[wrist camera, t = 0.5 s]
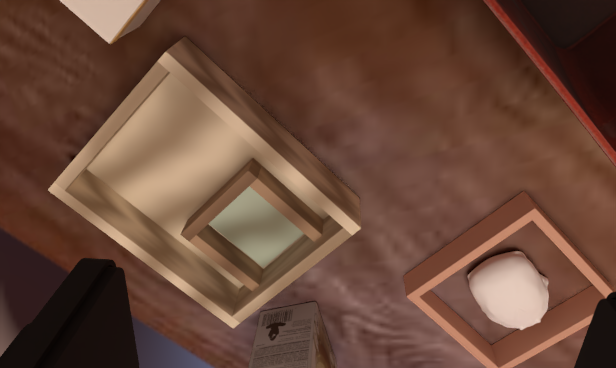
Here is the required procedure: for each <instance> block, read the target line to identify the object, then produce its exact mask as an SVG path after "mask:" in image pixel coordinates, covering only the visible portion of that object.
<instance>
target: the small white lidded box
mask: <svg viewBox="0 0 616 368" xmlns="http://www.w3.org/2000/svg"><path fill="white" fill-rule="evenodd" d="M60 1H61V2H62V3H63V4H64V5H66V6H67V7H68V8H69V9H70V10H71V11H72V12H74V13H75V14H76V15H77V16H78V17H79V18H80V19H82V20H83V21H84V22H85V23H86V24H87V25H88V26H90V27H91V28H92V29H93V30H94V31H95V32H96V33H97V34H99V35H100V36H101V37H102V38H103V39H104V40H105V41H107V42H108V43H109V44H110V43H111V44H112V43H113V42H115V41H117V40H118V38H120V37H122V36H124V35H125V34H127V33H129V32H131V31H133V30H134V29H136V28H138V27H140V26H141V24H142V23H143V22H144V21H145V19H146V18H147V17H148V16H149V14H150V13H151V12H152V11H153V9H154V8H155V7H156V6H157V4H158V3H159V2H160V1H161V0H60Z"/></svg>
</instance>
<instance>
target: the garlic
mask: <svg viewBox="0 0 616 368" xmlns="http://www.w3.org/2000/svg"><path fill="white" fill-rule="evenodd" d="M467 277H468V280H469V287H470V290H471V292H472V294H473V296H474V298H475V300H476V301H477V303H478V304H479V305H480V307H481V309H482V311H483V312H485V313H486V315H487V316H488V318H489V319H491V320H492V321H494V322H496V323H499V324H501V325H503V326H505V327H508V328H519V329H520V330H523V329H524V328H527V327H530V326H531V325H532V326H533V325H534V324H536V323H539V322H541V318H542V317H543V315H544V314H545V313H546V311H547V309H548V300H549V293H548V290H547V285H548V283H549V282H548V279H547V278H546V277H544V276H542V275H541V274H539V273H538V271H537V270H536V268H535V267H534V265H533V264H532V263H531V261H530V260H528V259H527V258H526V256H525V254H524V253H523V252H520V251H513V252H507V253H503V254H500V255H496V256H493V257H491V258H489V259H487V260H485V261H484V262H482V263H481V264H480V265H478V266H477V267H476V268H475V269H473V270H472V271H471V272H470V273H469V274H468V276H467Z"/></svg>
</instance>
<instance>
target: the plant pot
mask: <svg viewBox="0 0 616 368" xmlns="http://www.w3.org/2000/svg"><path fill="white" fill-rule="evenodd" d="M483 1H484V2H485V4H486V5H487V6H488V7H489V8H490V10H491V11H492V12H493V13H494V15H495V16H496V17H497V18H498V20H499V21H500V22H501V23H502V25H503V26H504V27H505V28H506V30H507V31H508V32H509V33H510V34H511V36H512V37H513V38H514V39H515V41H516V42H517V43H518V44H519V46H520V47H521V48H522V49H523V51H524V52H525V53H526V54H527V56H528V57H529V58H530V59H531V61H532V62H533V63H534V64H535V66H536V67H537V68H538V69H539V71H540V72H541V73H542V74H543V76H544V77H545V78H546V79H547V81H548V82H549V83H550V84H551V86H552V87H553V88H554V89H555V91H556V92H557V93H558V94H559V96H560V97H561V98H562V99H563V101H564V102H565V103H566V105H567V106H568V107H569V108H570V110H571V111H572V112H573V113H574V115H575V116H576V117H577V119H578V120H579V121H580V122H581V124H582V125H583V126H584V127H585V129H586V130H587V131H588V132H589V134H590V135H591V136H592V138H593V139H594V140H595V141H596V143H597V144H598V145H599V147H600V148H601V149H602V150H603V152H604V153H605V154H606V156H607V157H608V158H609V159H610V161H611V162H612V163H613V165H614V166H615V167H616V0H483Z"/></svg>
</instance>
